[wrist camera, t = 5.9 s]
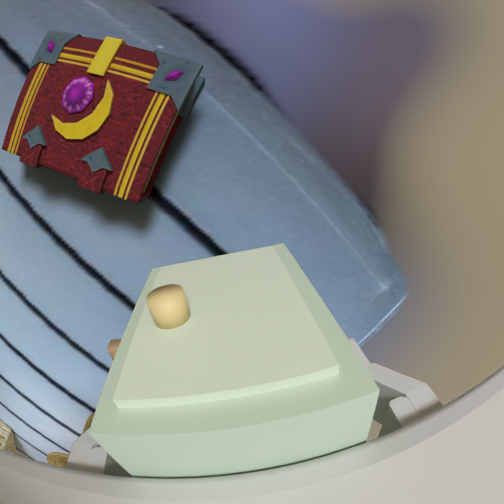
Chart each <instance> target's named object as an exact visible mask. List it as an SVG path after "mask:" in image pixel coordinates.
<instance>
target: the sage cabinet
mask: <svg viewBox="0 0 504 504" xmlns="http://www.w3.org/2000/svg"><path fill="white" fill-rule="evenodd" d="M379 391H380V389H379V388H378V386H377V385H376V383H375V381H374V380H373V378H372V376H371V375H370V373H369V372H368V370H367V369H366V367H365V365H364V364H363V362H362V361H361V359H360V357H359V356H358V354H357V353H356V351H355V350H354V348H353V347H352V345H351V343H350V342H349V340H348V339H347V337H346V336H345V334H344V333H343V331H342V330H341V328H340V326H339V325H338V323H337V322H336V320H335V319H334V317H333V316H332V314H331V313H330V311H329V310H328V308H327V307H326V305H325V304H324V302H323V301H322V299H321V298H320V296H319V295H318V293H317V292H316V290H315V289H314V287H313V286H312V284H311V283H310V281H309V280H308V278H307V277H306V275H305V274H304V272H303V271H302V270H301V268H300V267H299V265H298V264H297V262H296V261H295V259H294V258H293V256H292V255H291V253H290V252H289V251H288V249H287V248H286V246H285V245H284V243H283V244H278V245H273V246H268V247H262V248H257V249H252V250H247V251H241V252H236V253H231V254H226V255H221V256H215V257H210V258H205V259H200V260H195V261H189V262H184V263H179V264H174V265H169V266H163V267H158V268H153V269H152V271H151V273H150V275H149V277H148V279H147V282H146V284H145V286H144V288H143V290H142V293H141V295H140V297H139V299H138V302H137V304H136V306H135V308H134V311H133V313H132V315H131V318H130V320H129V322H128V325H127V327H126V330H125V332H124V335H123V337H122V339H121V342H120V344H119V347H118V350H117V352H116V355H115V357H114V360H113V362H112V365H111V368H110V370H109V373H108V376H107V379H106V381H105V384H104V387H103V390H102V393H101V396H100V399H99V402H98V405H97V408H96V411H95V414H94V417H93V420H92V423H91V427H90V430H89V434H90V435H91V436H92V437H93V438H94V439H95V440H96V441H97V442H98V443H99V445H100V446H101V447H102V448H103V449H104V450H105V451H106V452H107V453H108V454H109V455H110V456H111V457H112V458H113V459H114V460H115V461H117V462H118V463H119V464H120V465H121V466H122V467H123V468H124V469H125V470H126V471H127V472H128V473H130V474H131V475H132V476H133V477H134V478H156V479H182V478H204V477H217V476H227V475H236V474H244V473H250V472H257V471H263V470H268V469H274V468H279V467H284V466H288V465H293V464H297V463H301V462H305V461H309V460H313V459H316V458H320V457H324V456H327V455H330V454H334V453H337V452H340V451H343V450H346V449H349V448H352V447H355V446H357V445H360V444H363V443H366V439H367V436H368V433H369V429H370V426H371V422H372V419H373V415H374V411H375V408H376V404H377V400H378V396H379Z"/></svg>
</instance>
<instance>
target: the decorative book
mask: <svg viewBox="0 0 504 504" xmlns="http://www.w3.org/2000/svg"><path fill="white" fill-rule="evenodd" d="M29 69H30V72H29V74H28V76H27V78H26V81H25V83H24V85H23V88H22V90H21V93H20V95H19V98H18V100H17V103H16V106H15V108H14V111H13V114H12V117H11V120H10V123H9V126H8V129H7V133H6V136H5V139H4V143H3V147H2V149H3V150H6V151H8V152H10V153H13V154H15V155H18V156H20V160H19V161H21V162H23V163H26V164H28V165H30V166H33V167H35V168H36V167H44V166H45V167H47V168H49V169H52V170H54V171H57V172H59V173H62V174H64V175H66V176H69V177H71V178H74V179H76V180H78V184H77V185H78V186H81V187H83V188H85V189H88V190H90V191H93V192H95V193H97V194H101V193H104V192H108V193H110V194H113V195H115V196H118V197H120V198H122V199H125V200H127V201H130V202H132V203H135V204H138V203H140V202H142V201H143V200H145V199H147V198H149V196H150V193H151V191H152V188H153V185H154V183H155V180H156V178H157V175H158V173H159V170H160V168H161V166H162V163H163V161H164V159H165V156H166V154H167V152H168V149H169V147H170V145H171V143H172V140H173V138H174V136H175V134H176V132H177V129H178V127H179V125H180V123H181V121H182V119H183V118H185V117H186V115H187V113H188V111H189V109H190V107H191V105H192V103H193V102H194V100H195V98H196V96H197V94H198V92H199V90H200V88H201V86H202V85H203V83H204V81H205V78H204V77H201V76H199V74H200V72H201V71H202V69H203V65H202V64H199V63H196V62H193V61H190V60H187V59H184V58H181V57H177V56H174V55H171V54H167V53H164V52H160V51H157V50H155V51H154V52H151V51H148V50H144V49H140V48H136V47H132V46H128V45H127V44H126V43H125V42H124V41H123V40H122V39H117V38H112V37H107V36H106V38H105V40H99V39H93V38H87V37H82V36H81V35H80V34H75V33H67V32H59V31H49V30H48V32H47V34H46V36H45V38H44V39H43V41H42V43H41V45H40V47H39V49H38V51H37V53H36V55H35V57H34V59H33V61H32V63H31V65H30V67H29Z"/></svg>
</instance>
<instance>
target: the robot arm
mask: <svg viewBox="0 0 504 504" xmlns="http://www.w3.org/2000/svg"><path fill="white" fill-rule="evenodd" d="M347 339H348V340H349V342H350V343H351V345H352V347H353V348H354V350H355V351H356V353H357V354H358V356H359V357H360V359H361V361H362V362H363V364H364V365H365V367H366V369H367V370H368V372H369V373H370V375H371V376H372V378H373V380H374V381H375V383H376V385H377V386H378V388H379V389H380V391H379V396H378V400H377V404H376V408H375V411H374V415H373V419H374V420H375V421H377V422H379V423H380V424H382V428H381V430H380V433H379V436H378V438H376V439H373V440H371V441H368V442H366V443H363V444H360V445H357V446H355V447H352V448H349V449H346V450H343V451H340V452H337V453H334V454H330V455H327V456H324V457H320V458H316V459H313V460H309V461H305V462H301V463H297V464H293V465H288V466H284V467H279V468H274V469H268V470H263V471H257V472H250V473H244V474H236V475H227V476H217V477H204V478H182V479H156V478H134V477H133V476H132V475H131V474H130V473H128V472H127V471H126V470H125V469H124V468H123V467H122V466H121V465H120V464H119V463H118V462H117V461H115V460H114V459H113V458H112V457H111V456H110V455H109V454H108V453H107V452H106V451H105V450H104V449H103V448H102V447H101V446H100V445H99V443H98V442H97V441H96V440H95V439H94V438H93V437H92V436H91V435H90V434H89V430H90V428H89V429H88V430H87V431H86V432H84V433H83V434H82V435H81V436H80V437H79V438H78V439H77V440H76V441H75V442H73V444H72V447H71V451H70V454H69V458H68V461H67V465H66V468H63V467H59V466H55V465H51V464H47V463H43V462H39V461H36V460H32V459H29V458H25V457H22V456H19V455H16V454H13V453H10V452H8V451H5V450H2V449H0V504H504V366H502V367H501V368H500V369H499V370H497V371H496V372H495V373H493V374H492V375H491V376H489V377H488V378H486V379H485V380H483V381H482V382H481V383H479V384H478V385H476V386H475V387H473V388H472V389H470V390H469V391H467V392H466V393H464V394H463V395H461V396H459V397H458V398H456V399H454V400H453V401H451V402H449V403H448V404H446V405H444V406H443V405H442V404H441V402H440V401H439V400H438V398H437V397H436V396H435V394H434V393H433V392H432V390H431V389H430V388H429V387H428V385H427V384H426V383H423V382H421V381H418V380H416V379H413V378H410V377H408V376H405V375H403V374H400V373H398V372H395V371H393V370H390V369H388V368H385V367H383V366H380V365H378V364H375V363H373V364H370V362H369V361H368V359H367V358H366V356H365V355H364V353H363V352H362V350H361V349H360V347H359V346H358V344H357V343H356V342H355V340H354V339H353V338H352V337H350V338H347Z"/></svg>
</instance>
